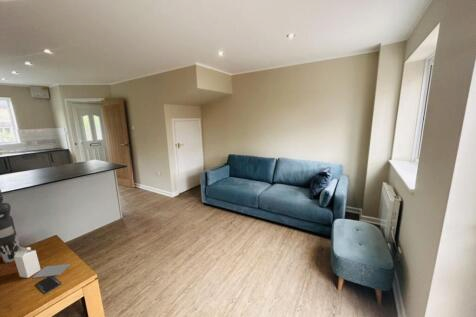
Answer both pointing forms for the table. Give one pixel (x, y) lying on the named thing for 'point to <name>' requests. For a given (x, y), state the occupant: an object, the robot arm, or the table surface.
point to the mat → (51, 271)
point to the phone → (48, 284)
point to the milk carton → (26, 262)
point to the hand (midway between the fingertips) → (12, 258)
